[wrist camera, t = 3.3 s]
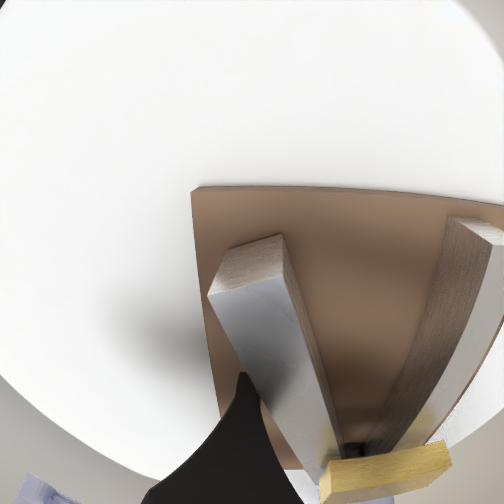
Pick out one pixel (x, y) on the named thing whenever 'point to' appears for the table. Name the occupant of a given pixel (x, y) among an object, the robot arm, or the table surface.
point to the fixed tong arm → (444, 338)
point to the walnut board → (335, 283)
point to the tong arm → (278, 347)
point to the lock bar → (382, 474)
